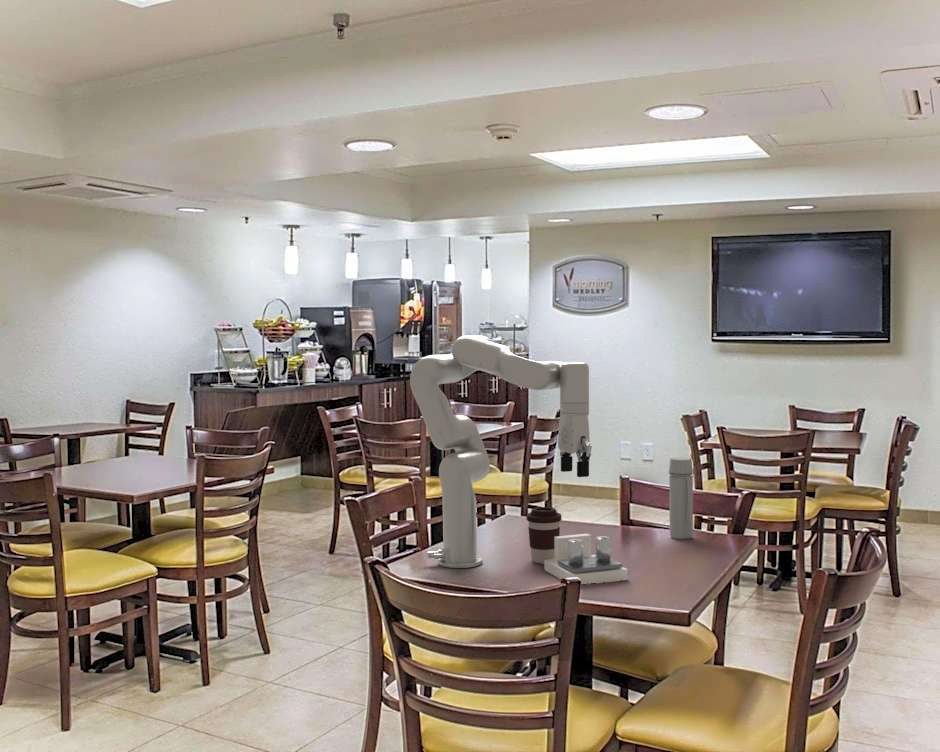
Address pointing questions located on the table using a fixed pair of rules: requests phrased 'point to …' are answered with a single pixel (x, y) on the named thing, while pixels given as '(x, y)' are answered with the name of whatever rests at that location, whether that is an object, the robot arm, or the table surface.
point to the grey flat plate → (590, 565)
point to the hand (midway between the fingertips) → (574, 473)
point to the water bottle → (681, 497)
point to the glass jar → (603, 549)
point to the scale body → (588, 576)
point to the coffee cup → (543, 532)
